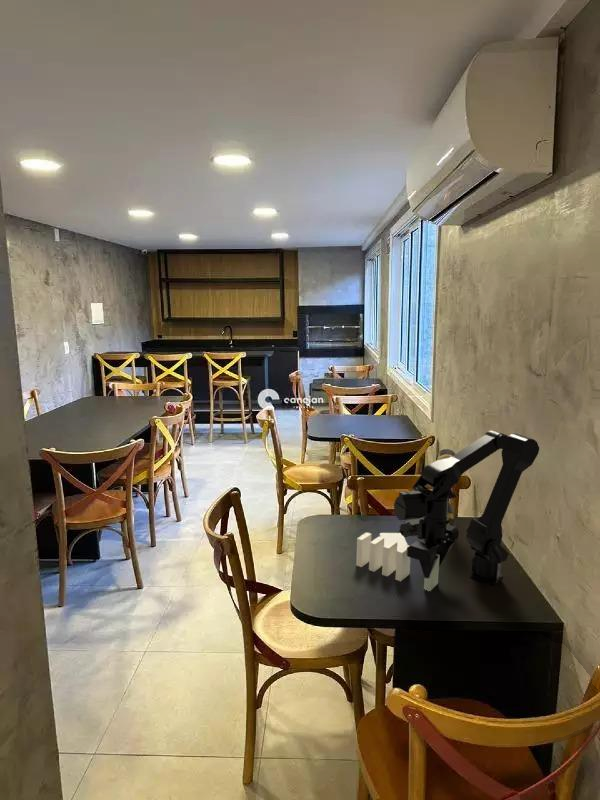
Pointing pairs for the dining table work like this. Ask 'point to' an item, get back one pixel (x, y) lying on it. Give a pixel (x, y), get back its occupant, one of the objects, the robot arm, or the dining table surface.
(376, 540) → the tile
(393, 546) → the tile
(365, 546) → the tile
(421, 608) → the dining table surface
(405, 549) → the tile
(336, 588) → the dining table surface
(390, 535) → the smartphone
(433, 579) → the tile
